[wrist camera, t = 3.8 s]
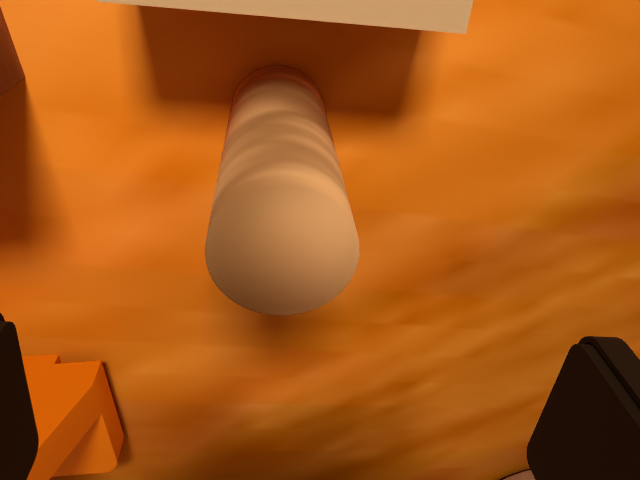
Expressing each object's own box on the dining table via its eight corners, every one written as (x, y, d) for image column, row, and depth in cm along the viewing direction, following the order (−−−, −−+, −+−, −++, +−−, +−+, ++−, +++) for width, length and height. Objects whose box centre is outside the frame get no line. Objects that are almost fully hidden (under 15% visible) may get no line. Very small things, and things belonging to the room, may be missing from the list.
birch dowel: (328, 69, 25) (369, 189, 14) (319, 157, 27) (349, 317, 17) (231, 61, 24) (204, 181, 14) (230, 152, 26) (205, 313, 16)
